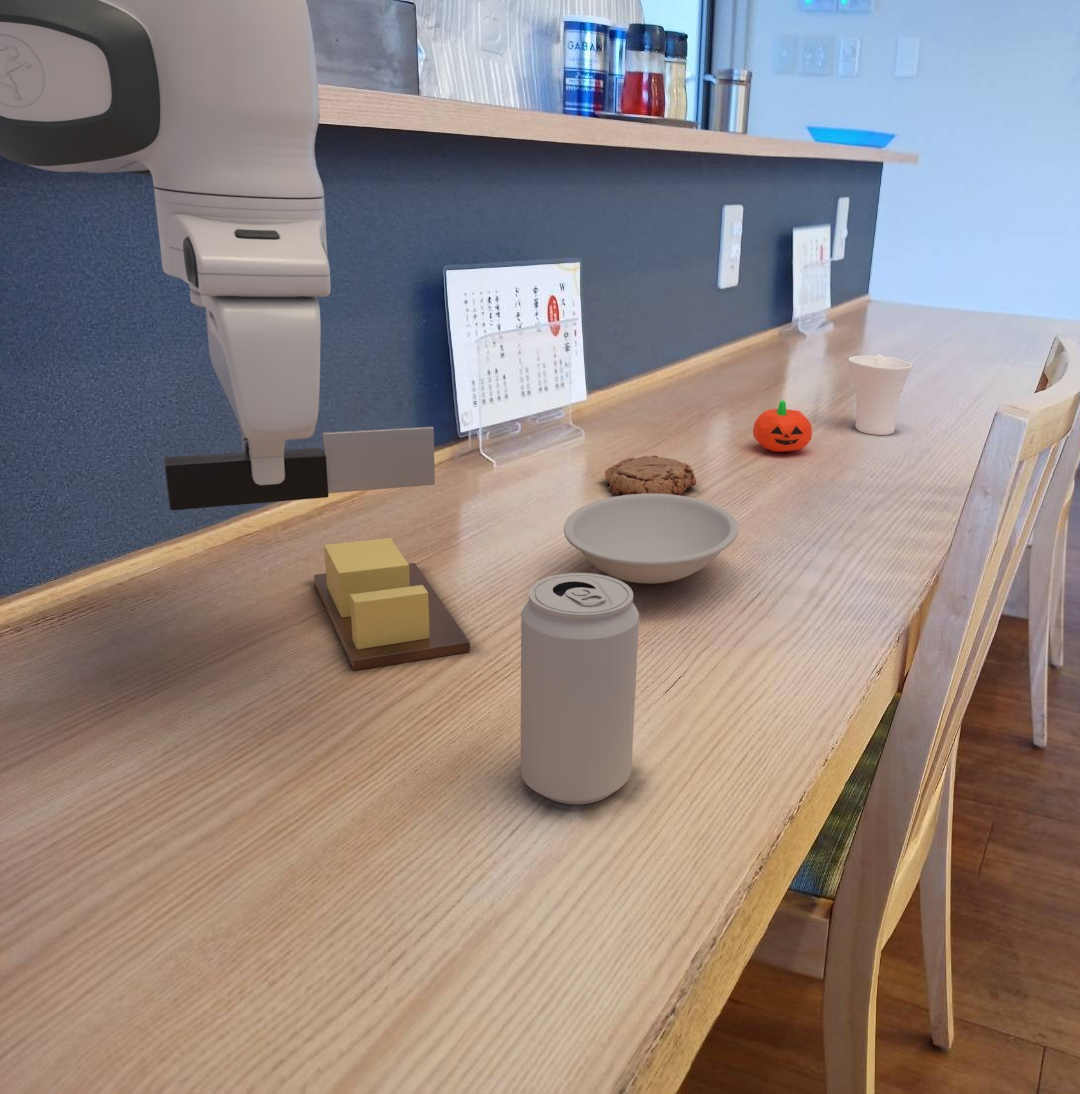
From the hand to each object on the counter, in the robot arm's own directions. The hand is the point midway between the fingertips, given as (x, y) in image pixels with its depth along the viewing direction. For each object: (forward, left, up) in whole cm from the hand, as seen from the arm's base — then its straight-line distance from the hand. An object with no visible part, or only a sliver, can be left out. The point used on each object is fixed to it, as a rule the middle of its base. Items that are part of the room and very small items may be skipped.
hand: (264, 473), depth 65 cm
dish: (+30, +6, -14) cm, 34 cm away
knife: (+3, 0, -2) cm, 3 cm away
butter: (+7, +8, -13) cm, 17 cm away
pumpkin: (+64, +39, -14) cm, 77 cm away
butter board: (+8, +6, -14) cm, 17 cm away
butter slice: (+7, 0, -13) cm, 15 cm away
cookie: (+41, +29, -14) cm, 53 cm away
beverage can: (+13, -20, -14) cm, 28 cm away
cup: (+83, +45, -14) cm, 96 cm away
